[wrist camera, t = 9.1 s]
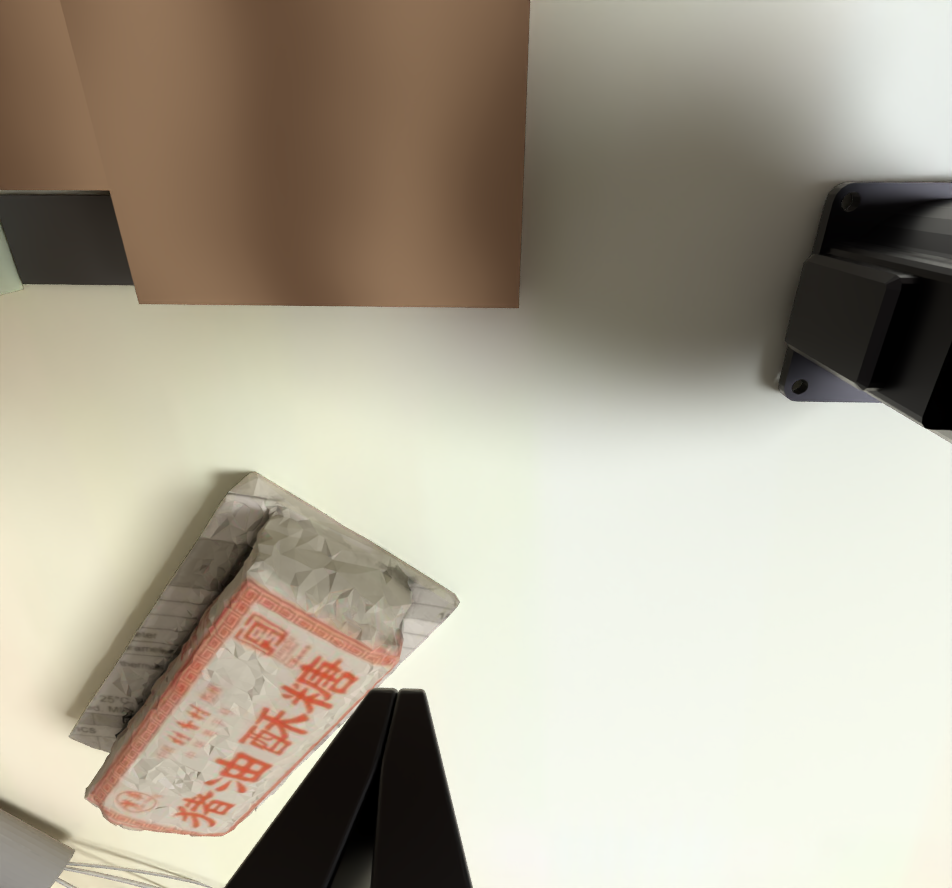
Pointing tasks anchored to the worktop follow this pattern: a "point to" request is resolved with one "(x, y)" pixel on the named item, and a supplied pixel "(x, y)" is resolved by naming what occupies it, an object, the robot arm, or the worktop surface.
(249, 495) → the packaged product
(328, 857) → the robot arm
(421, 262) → the trap deck
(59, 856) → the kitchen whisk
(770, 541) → the worktop surface
